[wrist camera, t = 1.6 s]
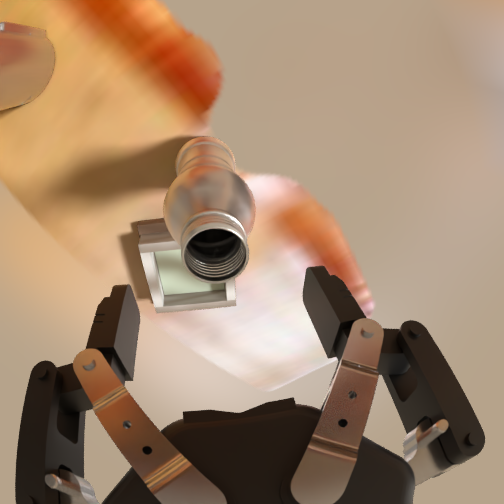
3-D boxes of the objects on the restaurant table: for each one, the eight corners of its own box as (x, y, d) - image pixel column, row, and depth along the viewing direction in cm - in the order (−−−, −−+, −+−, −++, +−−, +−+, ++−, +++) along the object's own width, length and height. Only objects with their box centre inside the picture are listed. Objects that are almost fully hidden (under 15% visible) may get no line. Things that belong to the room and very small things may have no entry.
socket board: (138, 221, 33) (133, 235, 30) (231, 211, 35) (235, 225, 32) (158, 302, 41) (156, 319, 38) (234, 295, 43) (238, 311, 40)
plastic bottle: (194, 195, 33) (196, 318, 17) (166, 149, 29) (128, 236, 13) (241, 171, 33) (293, 274, 16) (216, 122, 29) (244, 173, 12)
